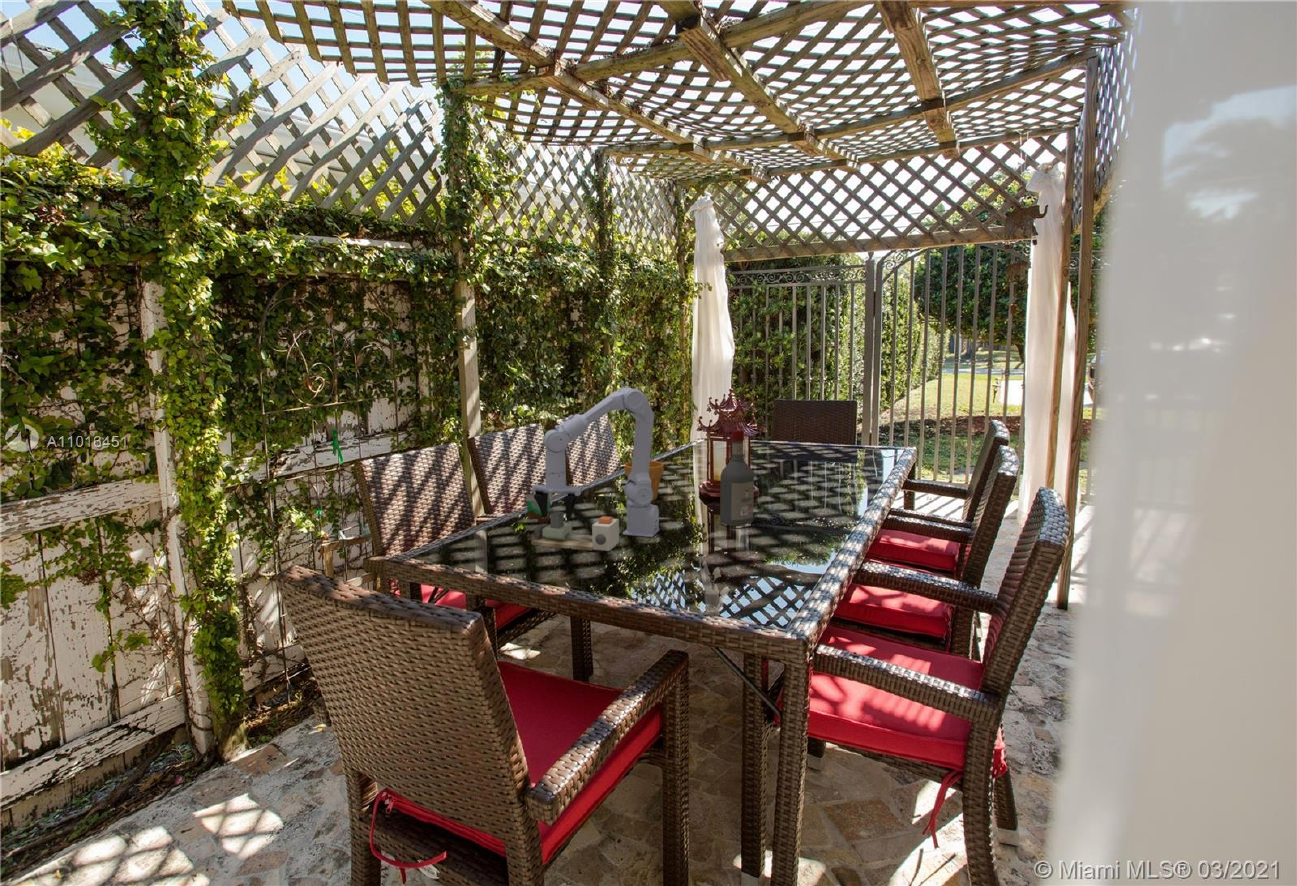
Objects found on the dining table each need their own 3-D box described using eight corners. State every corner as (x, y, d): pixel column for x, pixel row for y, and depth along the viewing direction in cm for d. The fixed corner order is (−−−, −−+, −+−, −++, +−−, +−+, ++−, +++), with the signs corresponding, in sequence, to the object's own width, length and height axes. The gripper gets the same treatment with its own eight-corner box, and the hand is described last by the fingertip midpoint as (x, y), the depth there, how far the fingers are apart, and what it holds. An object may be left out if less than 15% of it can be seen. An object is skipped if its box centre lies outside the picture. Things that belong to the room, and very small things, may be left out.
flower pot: (621, 502, 239) (621, 467, 237) (629, 493, 253) (628, 459, 251) (660, 504, 237) (660, 468, 235) (666, 494, 250) (666, 460, 248)
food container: (545, 526, 210) (544, 495, 208) (526, 525, 211) (525, 494, 210) (558, 516, 222) (557, 486, 220) (540, 515, 223) (539, 486, 221)
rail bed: (604, 540, 196) (603, 526, 195) (591, 550, 186) (591, 536, 186) (546, 534, 201) (545, 522, 200) (531, 544, 192) (530, 531, 191)
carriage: (571, 533, 197) (571, 510, 196) (562, 540, 190) (561, 517, 189) (553, 532, 198) (552, 509, 197) (542, 539, 192) (542, 515, 191)
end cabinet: (618, 542, 193) (618, 519, 192) (608, 551, 185) (608, 527, 184) (602, 541, 195) (602, 517, 194) (592, 549, 187) (591, 525, 186)
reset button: (612, 524, 190) (612, 517, 190) (608, 527, 187) (608, 519, 187) (602, 523, 191) (602, 516, 191) (598, 526, 188) (598, 519, 188)
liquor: (757, 525, 210) (759, 430, 205) (735, 530, 205) (736, 433, 200) (737, 518, 217) (739, 427, 213) (716, 523, 212) (717, 429, 208)
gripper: (526, 473, 189) (527, 519, 192) (573, 476, 185) (574, 523, 187) (537, 468, 196) (538, 513, 198) (583, 471, 192) (584, 517, 194)
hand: (556, 517), depth 193 cm, fingers open, 7 cm apart
